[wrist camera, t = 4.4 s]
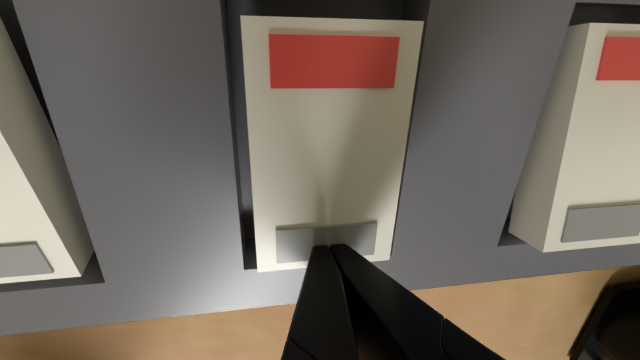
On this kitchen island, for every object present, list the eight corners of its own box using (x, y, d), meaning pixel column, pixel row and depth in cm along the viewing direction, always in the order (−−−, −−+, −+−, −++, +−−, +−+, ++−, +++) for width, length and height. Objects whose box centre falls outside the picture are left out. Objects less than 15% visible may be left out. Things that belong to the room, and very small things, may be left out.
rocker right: (602, 223, 12) (649, 243, 10) (508, 231, 11) (545, 254, 10) (650, 34, 10) (715, 26, 8) (542, 30, 9) (593, 21, 8)
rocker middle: (373, 231, 11) (390, 262, 9) (257, 241, 10) (257, 274, 9) (397, 20, 8) (425, 20, 7) (243, 15, 7) (240, 15, 6)
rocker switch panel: (673, 206, 17) (768, 250, 14) (-58, 263, 12) (-170, 354, 9) (808, -30, 12) (992, -43, 9) (-276, -107, 7) (-673, -195, 4)
